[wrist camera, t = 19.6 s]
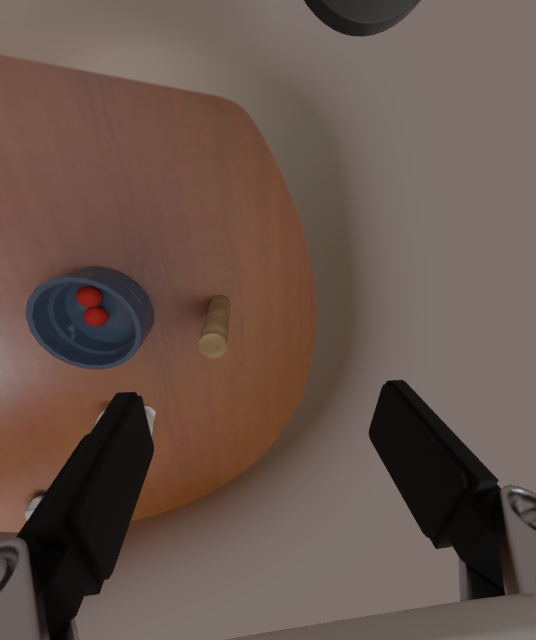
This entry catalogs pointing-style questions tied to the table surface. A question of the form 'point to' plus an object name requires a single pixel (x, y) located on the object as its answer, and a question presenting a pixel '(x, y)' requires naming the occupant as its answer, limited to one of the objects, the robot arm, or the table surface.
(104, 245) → the table surface
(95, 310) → the ball
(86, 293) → the ball
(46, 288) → the bowl
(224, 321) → the stick
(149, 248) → the table surface
